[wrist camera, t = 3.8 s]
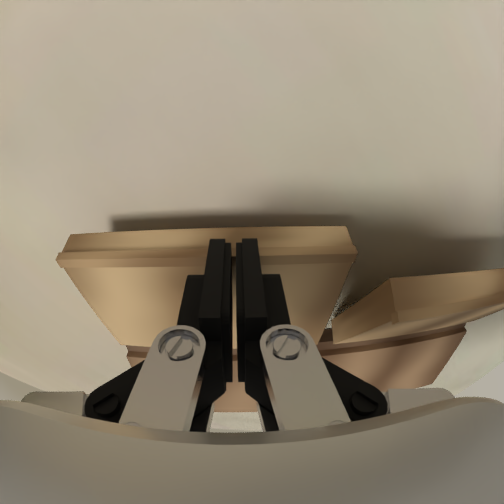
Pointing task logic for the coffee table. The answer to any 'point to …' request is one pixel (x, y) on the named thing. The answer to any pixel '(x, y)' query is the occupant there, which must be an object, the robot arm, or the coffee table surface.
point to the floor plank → (360, 362)
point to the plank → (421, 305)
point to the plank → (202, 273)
